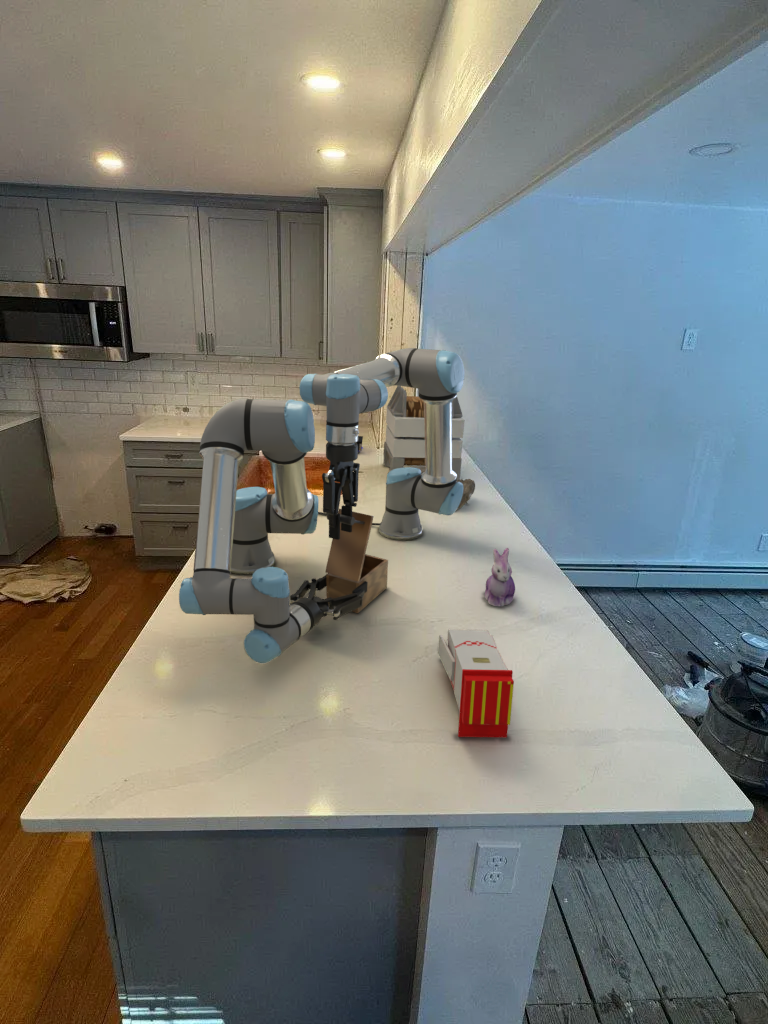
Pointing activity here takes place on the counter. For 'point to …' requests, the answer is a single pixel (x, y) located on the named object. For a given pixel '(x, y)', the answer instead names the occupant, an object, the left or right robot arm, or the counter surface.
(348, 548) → the lid
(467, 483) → the fossil
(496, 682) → the toy
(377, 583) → the chest
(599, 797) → the counter surface
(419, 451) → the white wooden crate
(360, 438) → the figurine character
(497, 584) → the figurine
